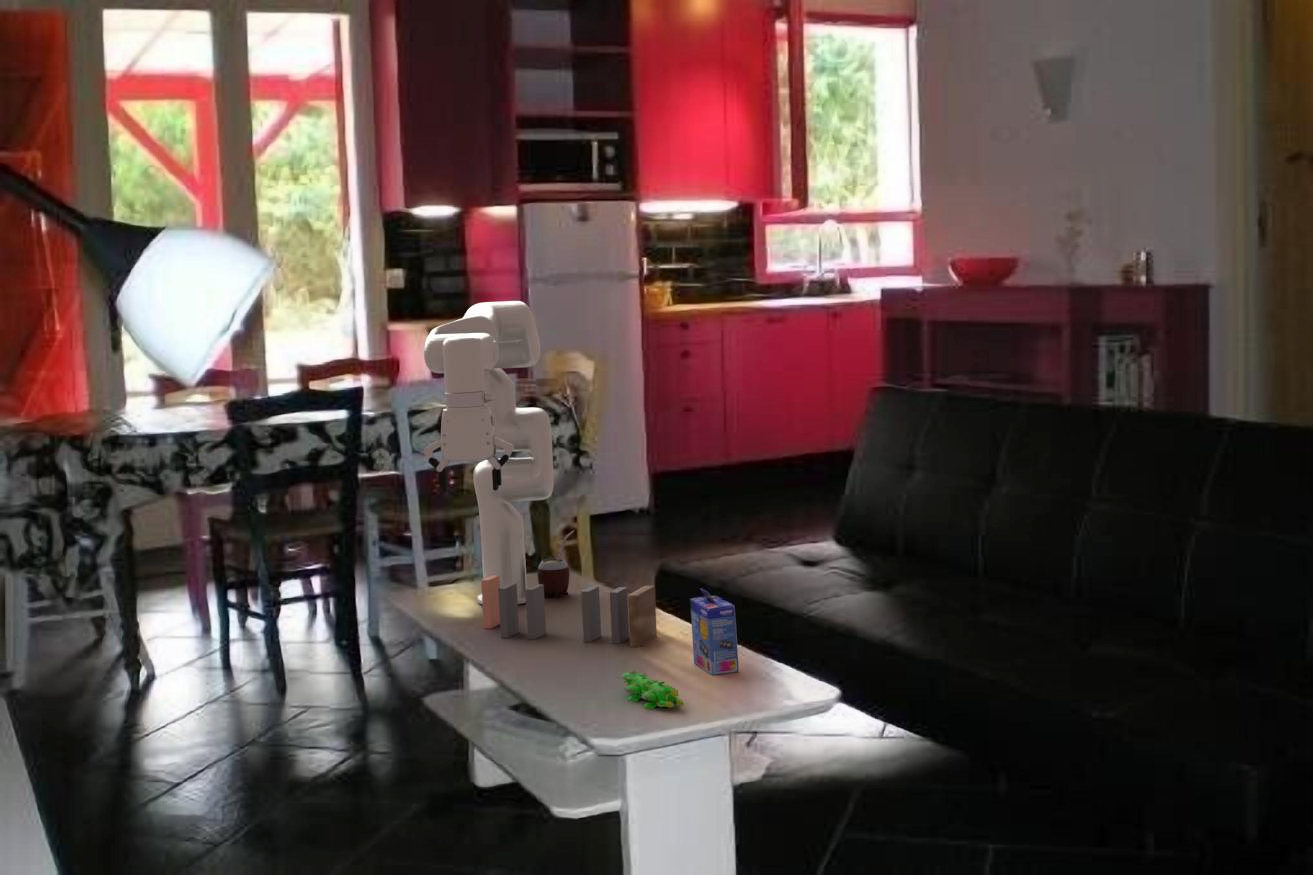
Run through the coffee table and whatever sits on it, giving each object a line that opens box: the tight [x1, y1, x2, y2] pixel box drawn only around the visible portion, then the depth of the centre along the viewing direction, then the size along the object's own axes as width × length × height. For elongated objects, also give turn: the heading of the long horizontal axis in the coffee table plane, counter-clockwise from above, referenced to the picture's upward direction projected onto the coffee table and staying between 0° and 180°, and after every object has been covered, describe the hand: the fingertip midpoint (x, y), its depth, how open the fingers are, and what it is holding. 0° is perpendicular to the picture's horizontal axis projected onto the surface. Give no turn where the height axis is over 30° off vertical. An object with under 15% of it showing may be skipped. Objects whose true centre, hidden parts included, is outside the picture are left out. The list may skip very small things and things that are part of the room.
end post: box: [627, 585, 658, 648], centre depth 305 cm, size 2×9×10 cm, turn 159°
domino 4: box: [580, 585, 602, 643], centre depth 309 cm, size 2×5×10 cm, turn 159°
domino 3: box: [525, 583, 547, 640], centre depth 314 cm, size 2×5×10 cm, turn 159°
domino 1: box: [480, 575, 500, 629], centre depth 325 cm, size 2×5×10 cm, turn 159°
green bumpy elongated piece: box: [620, 669, 684, 710], centre depth 264 cm, size 7×18×4 cm, turn 29°
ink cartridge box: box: [689, 588, 740, 676], centre depth 283 cm, size 10×6×14 cm, turn 19°
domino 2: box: [498, 583, 520, 639], centre depth 316 cm, size 2×5×10 cm, turn 159°
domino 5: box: [609, 586, 630, 644], centre depth 307 cm, size 2×5×10 cm, turn 159°
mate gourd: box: [536, 529, 575, 600], centre depth 351 cm, size 8×8×15 cm
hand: (470, 490), depth 301 cm, fingers open, 9 cm apart
